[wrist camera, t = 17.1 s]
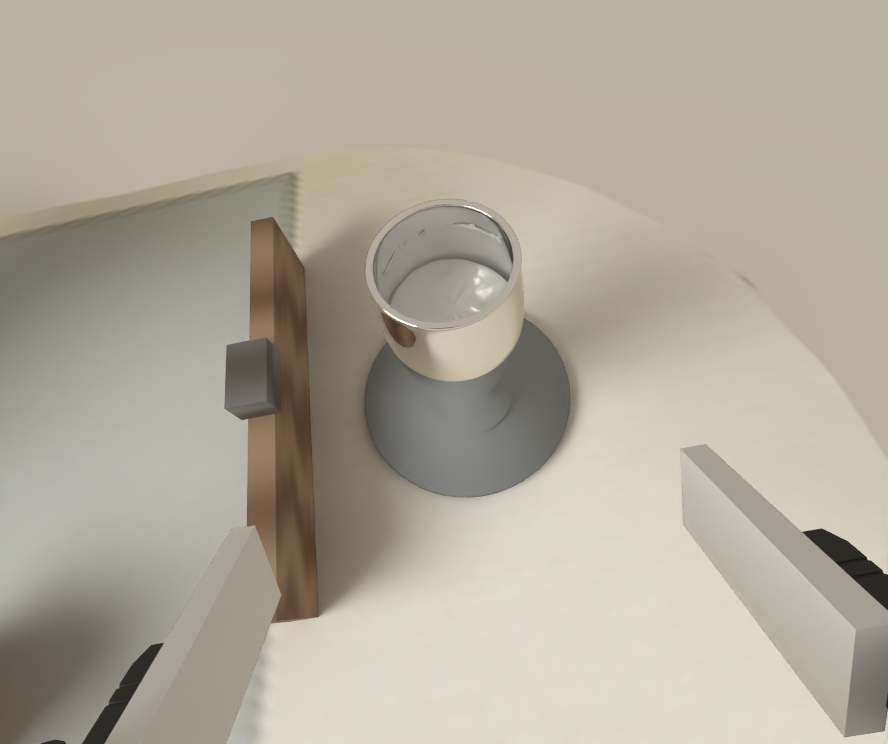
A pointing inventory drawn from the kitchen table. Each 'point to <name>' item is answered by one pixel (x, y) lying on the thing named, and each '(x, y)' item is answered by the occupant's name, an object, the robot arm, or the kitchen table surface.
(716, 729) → the kitchen table surface
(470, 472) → the round pad
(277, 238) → the board
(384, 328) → the beer glass
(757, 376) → the kitchen table surface
